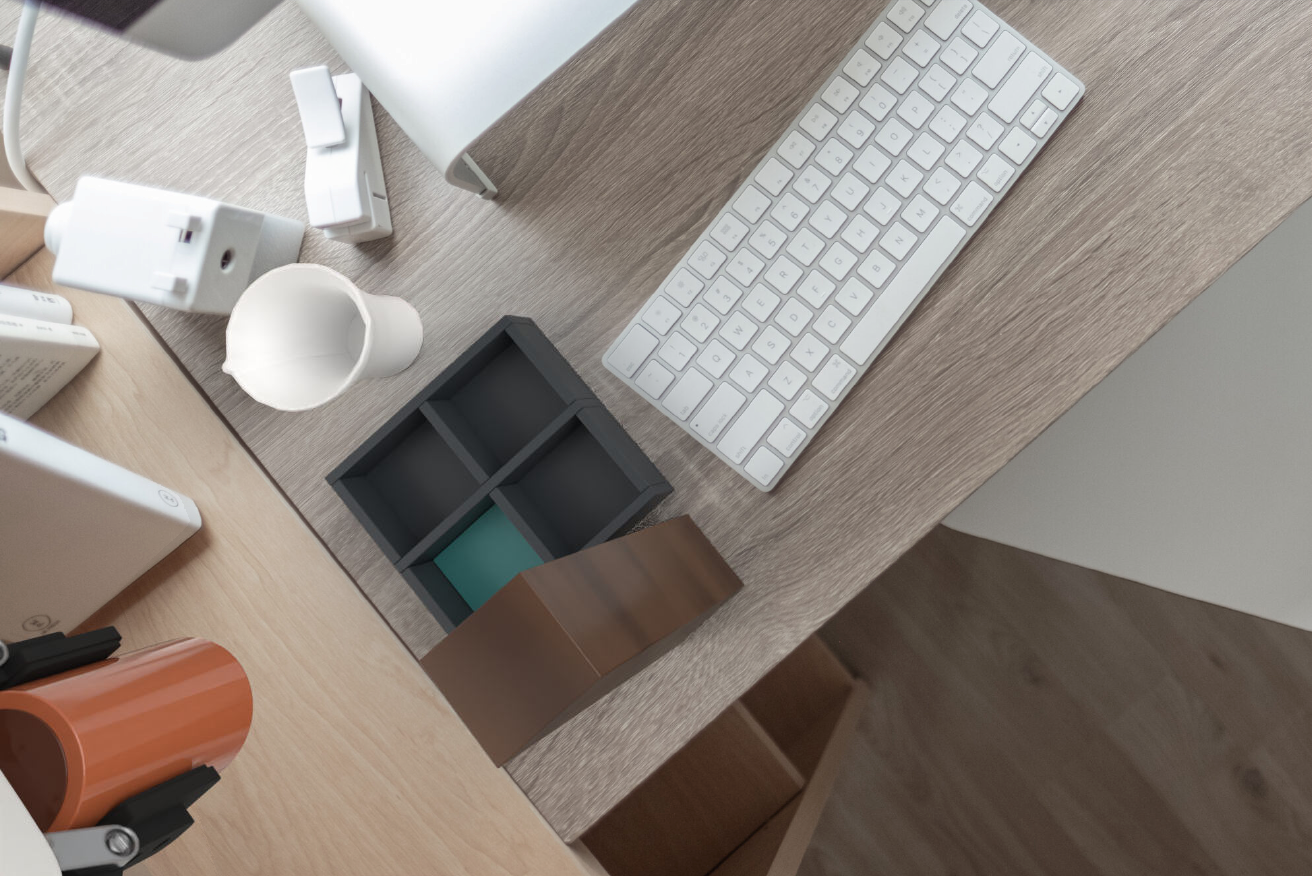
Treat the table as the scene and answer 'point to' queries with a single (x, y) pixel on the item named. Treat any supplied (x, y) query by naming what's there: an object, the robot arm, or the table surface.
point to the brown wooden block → (576, 632)
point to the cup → (315, 337)
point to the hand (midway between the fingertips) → (131, 731)
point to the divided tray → (496, 473)
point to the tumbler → (121, 728)
